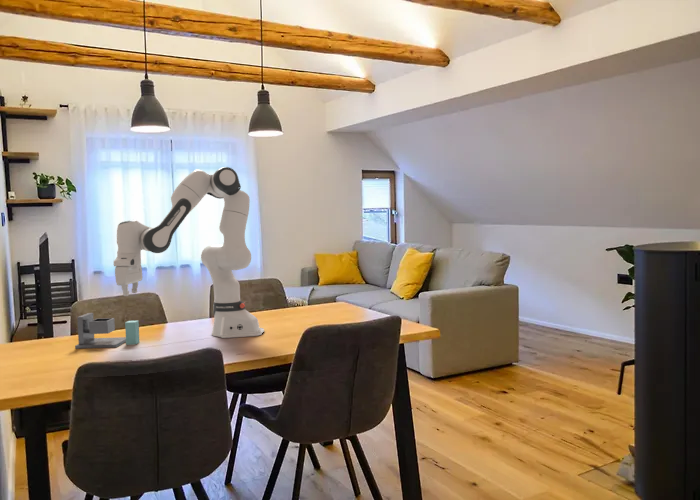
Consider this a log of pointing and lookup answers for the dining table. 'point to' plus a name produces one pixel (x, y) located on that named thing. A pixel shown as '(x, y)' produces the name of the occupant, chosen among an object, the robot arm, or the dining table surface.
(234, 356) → the dining table surface
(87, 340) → the cup bracket
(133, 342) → the teal rectangular block
